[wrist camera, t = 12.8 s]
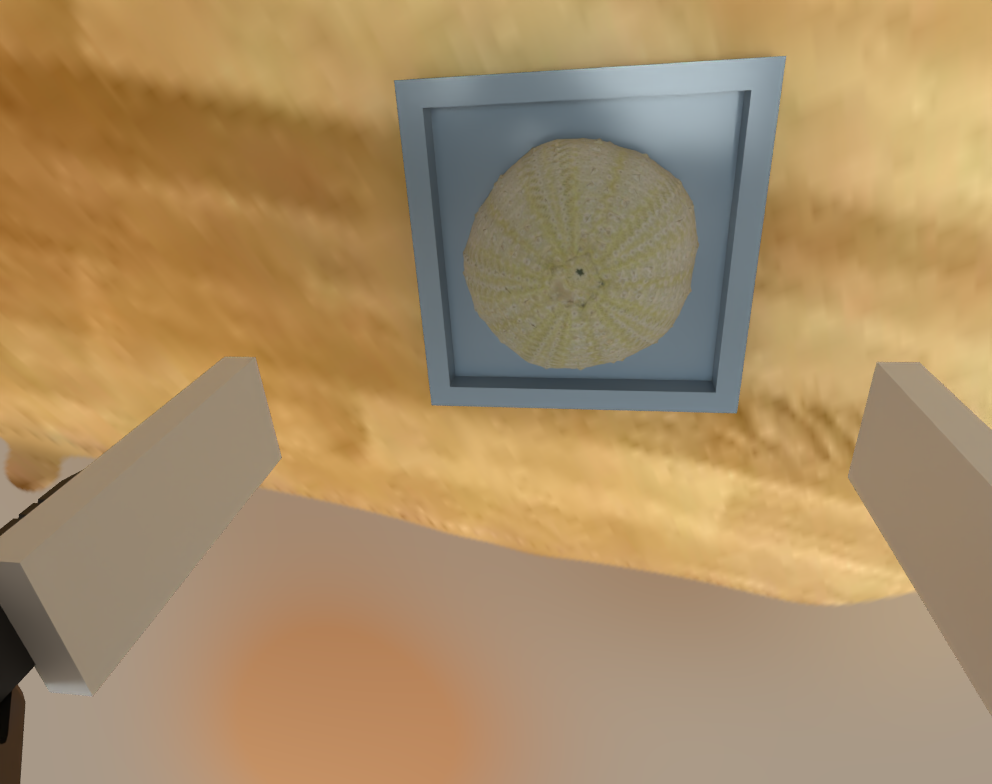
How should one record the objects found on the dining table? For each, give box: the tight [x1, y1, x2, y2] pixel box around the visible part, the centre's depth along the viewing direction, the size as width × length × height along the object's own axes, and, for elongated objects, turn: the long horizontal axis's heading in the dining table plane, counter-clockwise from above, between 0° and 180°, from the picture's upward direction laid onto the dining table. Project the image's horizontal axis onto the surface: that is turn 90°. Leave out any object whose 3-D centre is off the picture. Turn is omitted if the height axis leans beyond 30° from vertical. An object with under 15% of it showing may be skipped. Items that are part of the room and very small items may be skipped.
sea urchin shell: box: [463, 138, 699, 370], centre depth 25 cm, size 9×8×8 cm
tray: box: [394, 56, 786, 413], centre depth 26 cm, size 14×14×2 cm
